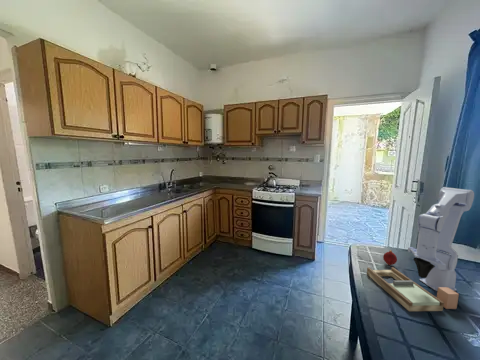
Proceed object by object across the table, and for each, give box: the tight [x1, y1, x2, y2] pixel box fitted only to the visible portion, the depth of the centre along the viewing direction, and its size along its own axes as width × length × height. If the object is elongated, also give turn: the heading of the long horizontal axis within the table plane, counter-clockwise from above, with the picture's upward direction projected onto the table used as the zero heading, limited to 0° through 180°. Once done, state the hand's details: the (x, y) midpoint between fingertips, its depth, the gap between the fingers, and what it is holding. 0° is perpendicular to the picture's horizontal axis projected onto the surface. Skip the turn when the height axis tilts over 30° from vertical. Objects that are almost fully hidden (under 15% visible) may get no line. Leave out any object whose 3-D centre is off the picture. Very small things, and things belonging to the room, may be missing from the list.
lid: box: [389, 279, 440, 306], centre depth 82 cm, size 10×11×3 cm
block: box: [436, 287, 460, 310], centre depth 80 cm, size 4×4×6 cm
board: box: [366, 266, 444, 312], centre depth 89 cm, size 13×24×3 cm, turn 3°
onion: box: [382, 249, 398, 266], centre depth 109 cm, size 6×6×8 cm
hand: (422, 276), depth 84 cm, fingers closed
